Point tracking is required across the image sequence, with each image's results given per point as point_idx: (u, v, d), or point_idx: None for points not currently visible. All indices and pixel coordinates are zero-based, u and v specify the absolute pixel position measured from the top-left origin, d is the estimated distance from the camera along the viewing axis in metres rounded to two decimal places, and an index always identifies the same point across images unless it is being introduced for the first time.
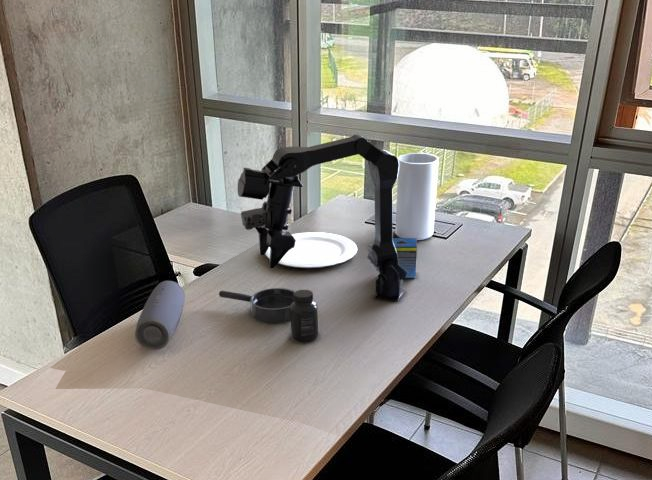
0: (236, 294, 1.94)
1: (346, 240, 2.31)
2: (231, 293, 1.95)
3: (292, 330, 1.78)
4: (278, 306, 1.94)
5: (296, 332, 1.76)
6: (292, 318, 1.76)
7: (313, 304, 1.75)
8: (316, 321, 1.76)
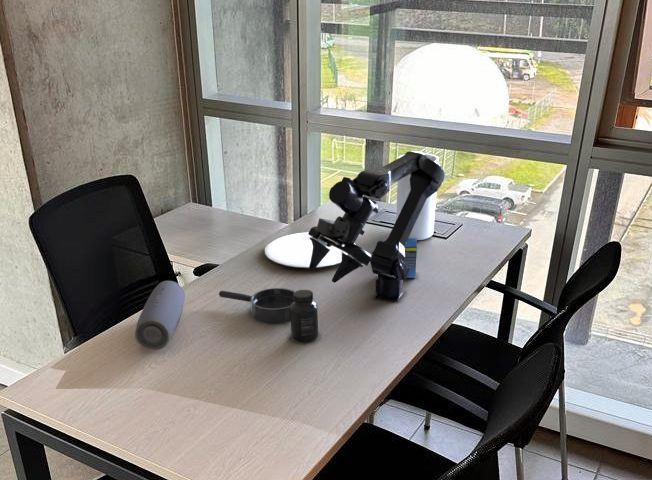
0: (236, 294, 1.94)
1: None
2: (231, 293, 1.95)
3: (292, 330, 1.78)
4: (278, 306, 1.94)
5: (296, 332, 1.76)
6: (292, 318, 1.76)
7: (313, 304, 1.75)
8: (316, 321, 1.76)
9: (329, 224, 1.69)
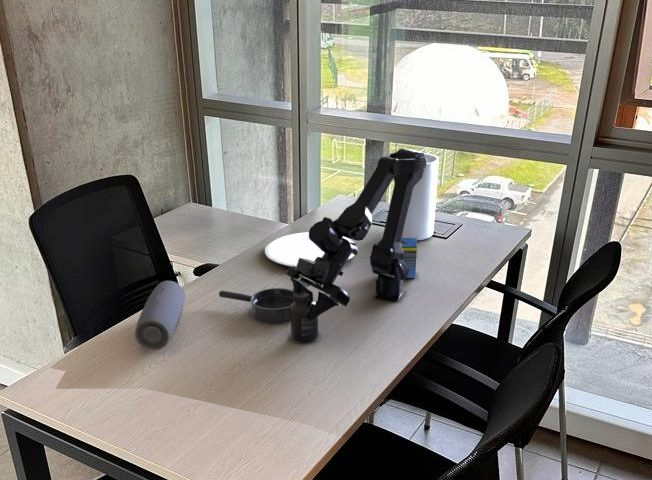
0: (236, 294, 1.94)
1: None
2: (231, 293, 1.95)
3: (292, 330, 1.78)
4: (278, 306, 1.94)
5: (296, 332, 1.76)
6: (292, 318, 1.76)
7: (313, 304, 1.75)
8: (316, 321, 1.76)
9: (309, 264, 1.69)
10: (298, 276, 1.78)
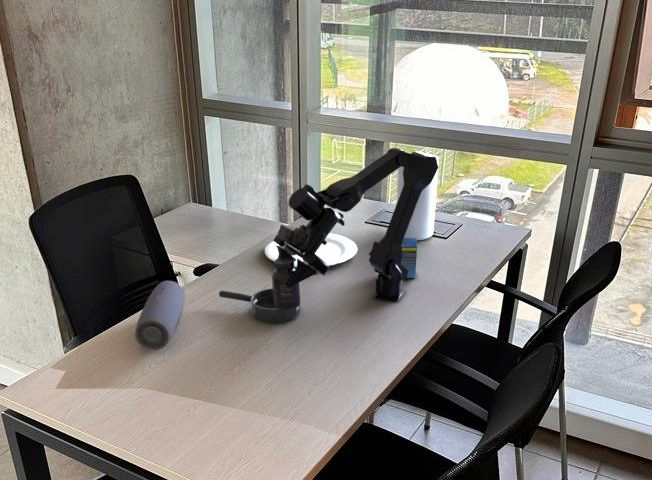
0: (236, 294, 1.94)
1: (346, 240, 2.31)
2: (231, 293, 1.95)
3: (273, 296, 1.80)
4: None
5: (277, 298, 1.79)
6: (273, 284, 1.78)
7: None
8: (296, 289, 1.78)
9: (288, 230, 1.71)
10: (283, 243, 1.80)
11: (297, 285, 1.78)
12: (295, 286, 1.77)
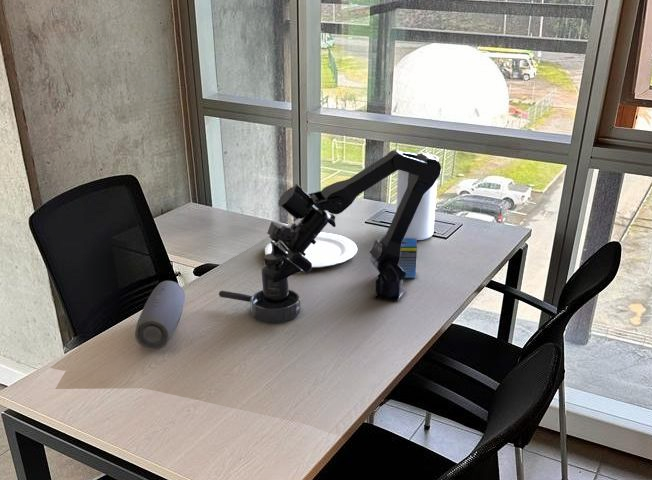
0: (236, 294, 1.94)
1: (346, 240, 2.31)
2: (231, 293, 1.95)
3: None
4: (278, 306, 1.94)
5: (264, 292, 1.87)
6: (262, 278, 1.86)
7: None
8: (283, 284, 1.85)
9: (276, 228, 1.78)
10: (277, 240, 1.88)
11: (284, 281, 1.85)
12: (282, 281, 1.85)
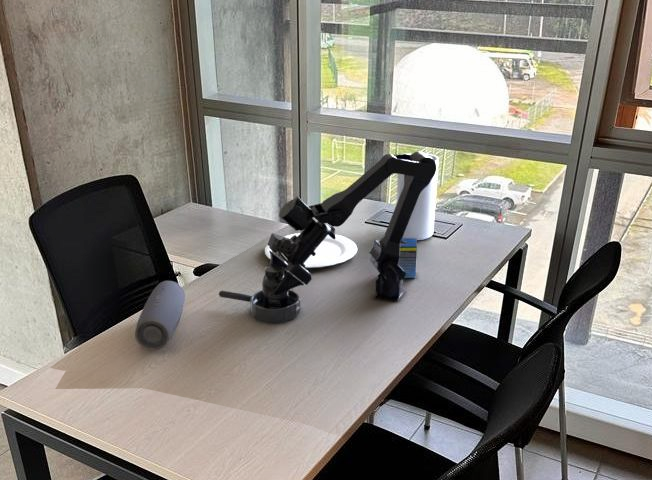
0: (236, 294, 1.94)
1: (346, 240, 2.31)
2: (231, 293, 1.95)
3: (263, 302, 1.90)
4: None
5: (265, 304, 1.89)
6: None
7: None
8: (284, 297, 1.87)
9: (276, 239, 1.80)
10: None
11: (285, 293, 1.87)
12: (282, 294, 1.87)
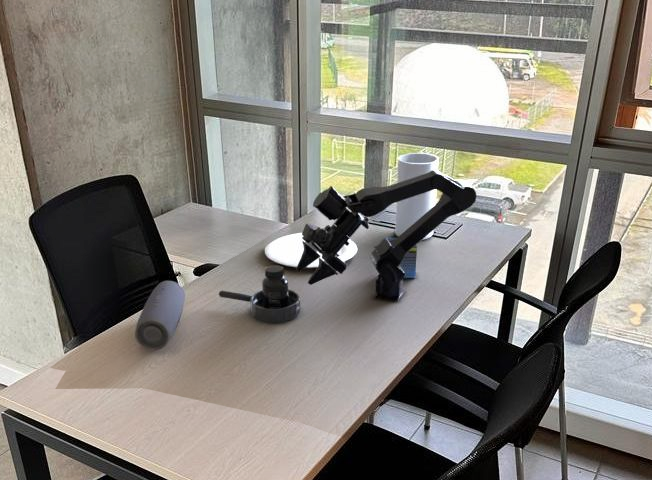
0: (236, 294, 1.94)
1: None
2: (231, 293, 1.95)
3: (263, 302, 1.90)
4: None
5: (265, 304, 1.89)
6: None
7: (282, 280, 1.86)
8: (284, 297, 1.87)
9: (311, 229, 1.82)
10: (309, 240, 1.92)
11: (285, 293, 1.87)
12: (282, 294, 1.87)
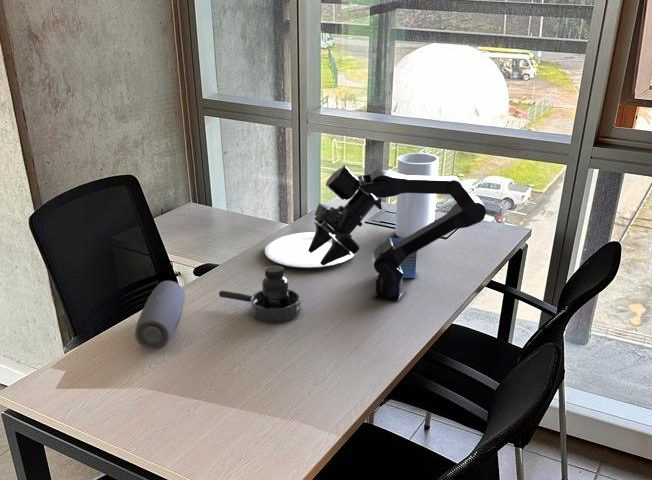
0: (236, 294, 1.94)
1: None
2: (231, 293, 1.95)
3: (263, 302, 1.90)
4: None
5: (265, 304, 1.89)
6: None
7: (282, 280, 1.86)
8: (284, 297, 1.87)
9: (324, 209, 1.80)
10: (321, 221, 1.91)
11: (285, 293, 1.87)
12: (282, 294, 1.87)
